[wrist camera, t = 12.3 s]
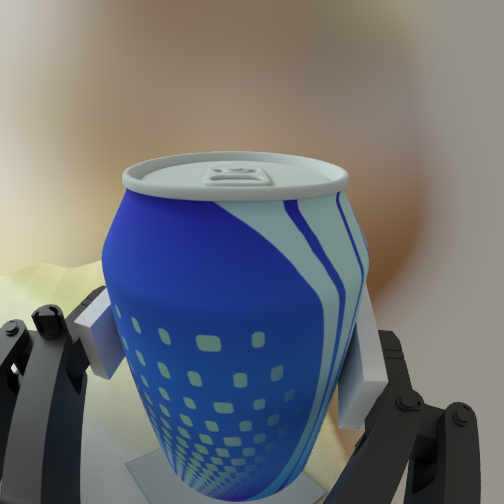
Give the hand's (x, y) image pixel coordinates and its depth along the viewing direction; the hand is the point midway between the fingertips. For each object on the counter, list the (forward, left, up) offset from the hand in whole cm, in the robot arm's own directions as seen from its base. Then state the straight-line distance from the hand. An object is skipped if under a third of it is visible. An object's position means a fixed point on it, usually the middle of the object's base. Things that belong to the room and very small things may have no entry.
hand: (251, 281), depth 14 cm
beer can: (-3, -3, -10) cm, 11 cm away
